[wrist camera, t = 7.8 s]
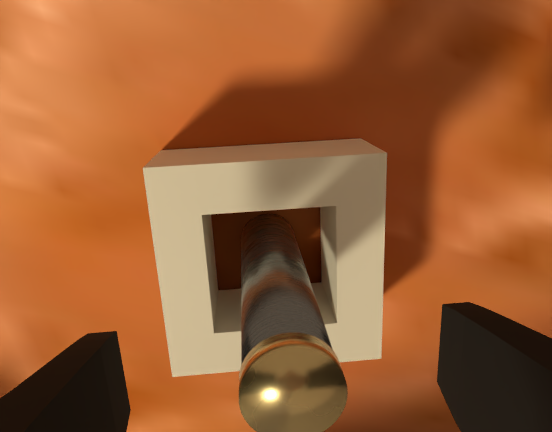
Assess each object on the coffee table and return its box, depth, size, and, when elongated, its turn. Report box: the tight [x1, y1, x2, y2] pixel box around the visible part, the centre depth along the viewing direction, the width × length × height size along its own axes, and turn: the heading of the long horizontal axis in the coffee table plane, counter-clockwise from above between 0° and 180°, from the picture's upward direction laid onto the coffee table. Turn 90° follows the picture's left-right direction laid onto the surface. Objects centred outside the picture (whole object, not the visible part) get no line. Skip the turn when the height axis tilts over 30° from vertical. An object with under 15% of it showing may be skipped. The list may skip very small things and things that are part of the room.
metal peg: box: [239, 214, 348, 432], centre depth 13 cm, size 2×2×9 cm
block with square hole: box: [143, 138, 387, 377], centre depth 15 cm, size 7×7×3 cm
